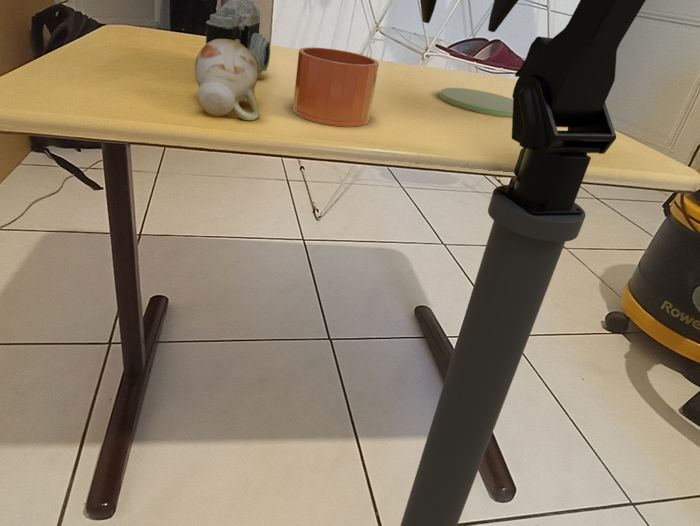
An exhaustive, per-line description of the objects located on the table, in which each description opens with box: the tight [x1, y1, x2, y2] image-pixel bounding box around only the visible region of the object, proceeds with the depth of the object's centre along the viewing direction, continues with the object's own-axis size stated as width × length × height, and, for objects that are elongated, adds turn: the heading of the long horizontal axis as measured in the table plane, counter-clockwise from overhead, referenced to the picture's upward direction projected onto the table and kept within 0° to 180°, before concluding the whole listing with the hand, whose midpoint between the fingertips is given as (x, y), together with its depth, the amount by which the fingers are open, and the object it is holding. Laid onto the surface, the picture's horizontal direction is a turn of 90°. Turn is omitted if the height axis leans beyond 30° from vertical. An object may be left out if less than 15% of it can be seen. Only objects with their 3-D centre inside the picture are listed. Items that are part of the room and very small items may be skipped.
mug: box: [194, 39, 260, 121], centre depth 63 cm, size 8×10×10 cm
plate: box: [439, 87, 513, 118], centre depth 90 cm, size 14×14×1 cm
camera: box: [205, 0, 271, 74], centre depth 77 cm, size 15×7×10 cm, turn 175°
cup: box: [292, 46, 380, 128], centre depth 67 cm, size 9×9×7 cm
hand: (459, 27), depth 67 cm, fingers open, 9 cm apart
